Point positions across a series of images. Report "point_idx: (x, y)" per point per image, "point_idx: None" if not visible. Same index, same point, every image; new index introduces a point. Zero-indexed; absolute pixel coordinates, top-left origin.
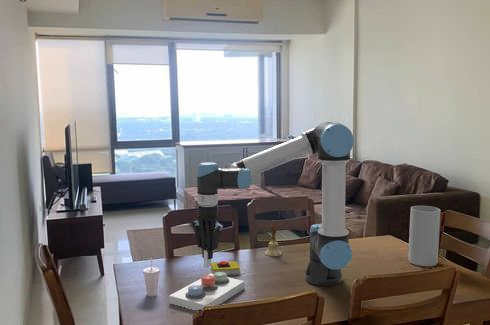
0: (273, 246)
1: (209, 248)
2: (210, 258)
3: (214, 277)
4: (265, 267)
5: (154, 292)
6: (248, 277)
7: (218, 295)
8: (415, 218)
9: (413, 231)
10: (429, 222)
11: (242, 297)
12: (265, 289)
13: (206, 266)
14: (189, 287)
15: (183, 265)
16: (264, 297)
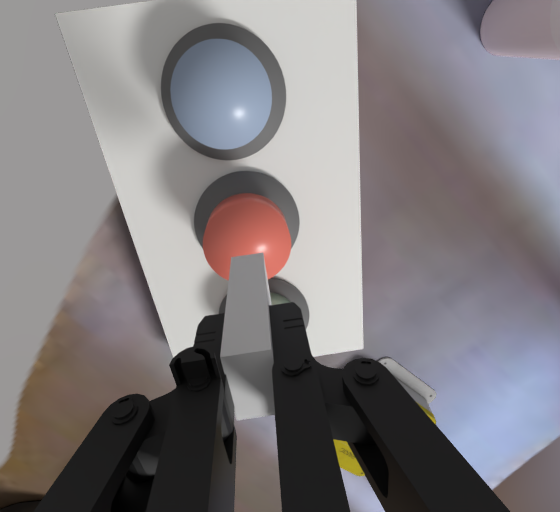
0: None
1: (179, 398)
2: (200, 322)
3: (220, 271)
4: (268, 499)
5: (495, 10)
6: (252, 424)
7: (125, 183)
8: None
9: None
10: None
11: (117, 289)
12: (117, 391)
13: (236, 262)
14: (260, 77)
15: (545, 361)
16: (54, 342)
